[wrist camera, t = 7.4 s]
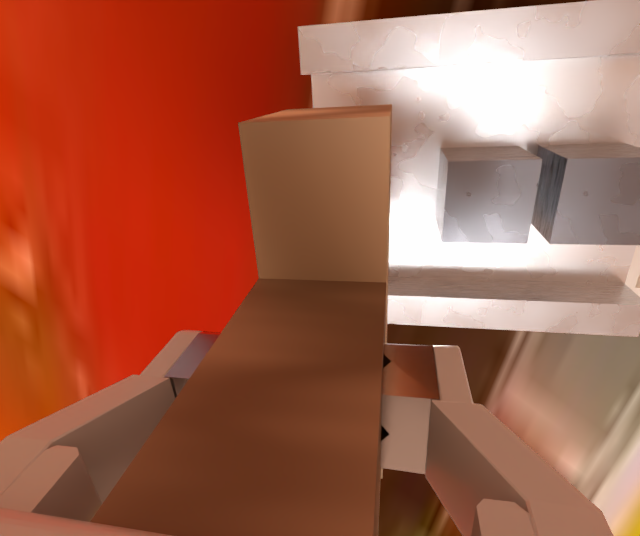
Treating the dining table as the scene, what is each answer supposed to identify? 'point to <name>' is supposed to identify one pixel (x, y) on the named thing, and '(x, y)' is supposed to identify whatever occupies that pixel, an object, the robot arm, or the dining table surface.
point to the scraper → (286, 351)
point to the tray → (634, 272)
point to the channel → (487, 131)
